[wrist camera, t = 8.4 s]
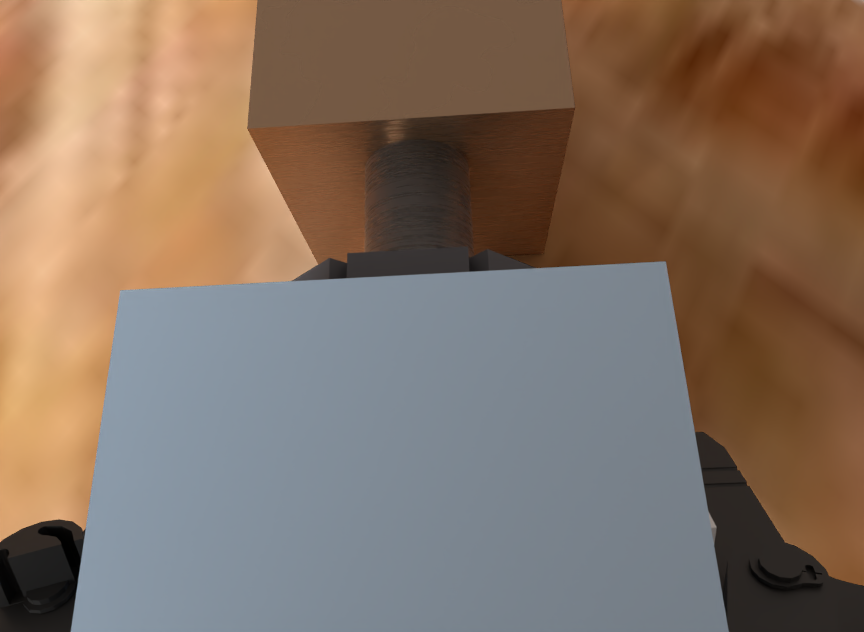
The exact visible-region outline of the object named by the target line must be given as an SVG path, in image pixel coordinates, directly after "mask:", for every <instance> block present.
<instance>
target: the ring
mask: <svg viewBox="0 0 864 632" xmlns="http://www.w3.org/2000/svg"><path fill="white" fill-rule="evenodd" d="M532 268H534V267H532V266H529V265H527V264H524V263H522V262H519V261H517V260H514V259H512V258H509V257H507V256H504V255H502V254H499V253H496V252H494V251H491V250H489V249H487V250H485V251H483V252H480V253H478V254H476V255H474V256H472V257H470V258H469V254H468V246H467V247H449V248H431V249H413V250H395V251H376V252H358V253H347V263H345V262H342V261H339V260H336V259H332V258H328V259H327V260H325V261H323V262H322V263H320V264H319V265H317V266H315V267H314V268H312V269H311V270H309V271H307V272H306V273H304V274H302V275H301V276H299V277H298V278H296V279H294V280H293V281H307V280H326V279H344V278H363V277H382V276H401V275H419V274H438V273H457V272H476V271H495V270H513V269H532Z"/></svg>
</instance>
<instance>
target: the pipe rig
mask: <svg viewBox="0 0 864 632" xmlns="http://www.w3.org/2000/svg"><path fill="white" fill-rule="evenodd" d="M574 110H575V104H574V96H573V88H572V80H571V72H570V65H569V57H568V49H567V41H566V34H565V26H564V18H563V10H562V3H561V0H258V2H257V15H256V27H255V40H254V52H253V65H252V77H251V90H250V102H249V115H248V127H247V129H248V131H249V133H250V135H251V137H252V138H253V140H254V142H255V144H256V146H257V148H258V150H259V152H260V154H261V156H262V158H263V159H264V161H265V163H266V165H267V167H268V169H269V171H270V173H271V175H272V177H273V179H274V180H275V182H276V184H277V186H278V188H279V190H280V192H281V194H282V196H283V198H284V200H285V201H286V203H287V205H288V207H289V209H290V211H291V213H292V215H293V217H294V219H295V221H296V222H297V224H298V226H299V228H300V230H301V232H302V234H303V236H304V238H305V240H306V242H307V243H308V245H309V247H310V249H311V251H312V253H313V255H314V257H315V259H316V261H317V263H318V264H320V263H322V262H323V261H325V260H327V259H328V258H332V259H336V260H339V261H342V262H345V263H347V253H358V252H376V251H395V250H413V249H431V248H449V247H467V246H468V254H469V258H470V257H472V256H474V255H476V254H478V253H480V252H483V251H485V250H487V249H489V250H491V251H494V252H496V253H499V254H502V255H521V254H539V253H543V252H544V248H545V243H546V239H547V234H548V229H549V225H550V220H551V216H552V211H553V207H554V202H555V197H556V193H557V188H558V184H559V179H560V174H561V170H562V165H563V161H564V156H565V151H566V147H567V142H568V138H569V133H570V128H571V124H572V119H573V115H574Z"/></svg>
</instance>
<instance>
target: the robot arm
mask: <svg viewBox="0 0 864 632" xmlns="http://www.w3.org/2000/svg"><path fill="white" fill-rule="evenodd" d="M695 436H696V442H697V448H698V454H699V460H700V466H701V472H702V477H703V483H704V489H705V495H706V501H707V507H708V513H709V519H710V524H711V530H712V536H713V542H714V548H715V554H716V560H717V566H718V571H719V577H720V583H721V589H722V595H723V601H724V607H725V613H726V618H727V624H728V630H729V632H864V586H862V585H857V584H852V583H848V582H845V581H841V580H838V579H835V578H832V577H830V576H829V575H828V573H827V571H826V569H825V568H824V567H823V566H822V565H821V564H820V563H819V562H818V561H817V560H816V559H815V558H814V557H813V556H812V555H810V554H808V553H806V552H805V551H803V550H801V549H800V548H798V547H796V546H794V545H791V544H788V543H785V542H784V540H783V539H782V537H781V536H780V534H779V532H778V531H777V529H776V528H775V526H774V525H773V523H772V521H771V520H770V518H769V517H768V515H767V514H766V512H765V510H764V509H763V507H762V506H761V504H760V503H759V501H758V499H757V498H756V496H755V495H754V493H753V491H752V490H751V488H750V487H749V486H747V482H746V480H745V479H744V477H743V476H742V474H741V473H740V471H739V470H737V466H736V465H735V463H734V462H733V460H732V458H731V457H730V455H729V454H728V452H727V451H726V449H725V448H724V447H723V446H722V445H720V444H719V443H718V442H716V441H715V440H713V439H712V438H711V437H709V436H708V435H707V434H705V433H704V432H695ZM85 530H86V529H85ZM85 530H84V531H82V528H81V527H79V526H78V525H77V524H75V523H74V522H72V521H65V520H52V521H45V522H40V523H37V524H34V525H32V526H29V527H26V528H23V529H21V530H19V531H17V532H16V533H14V534H12V535H10V536H9V537H7V538H5V539H4V540H2V541H1V542H0V632H71V627H72V620H73V613H74V606H75V599H76V592H77V585H78V578H79V572H80V565H81V558H82V551H83V544H84V537H85Z"/></svg>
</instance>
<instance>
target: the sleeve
mask: <svg viewBox="0 0 864 632" xmlns="http://www.w3.org/2000/svg"><path fill="white" fill-rule="evenodd" d="M71 632H729V630H728V624H727V618H726V613H725V607H724V601H723V595H722V589H721V583H720V577H719V571H718V566H717V560H716V554H715V548H714V542H713V536H712V530H711V524H710V519H709V513H708V507H707V501H706V495H705V489H704V483H703V477H702V472H701V466H700V460H699V454H698V448H697V442H696V436H695V430H694V425H693V419H692V413H691V407H690V401H689V395H688V389H687V383H686V378H685V372H684V366H683V360H682V354H681V348H680V342H679V336H678V330H677V325H676V319H675V313H674V307H673V301H672V295H671V289H670V283H669V278H668V272H667V266H666V261H664V262H645V263H626V264H607V265H588V266H570V267H551V268H532V269H513V270H495V271H476V272H457V273H438V274H419V275H401V276H382V277H363V278H344V279H326V280H307V281H288V282H269V283H250V284H232V285H213V286H194V287H175V288H157V289H138V290H120V297H119V304H118V311H117V318H116V324H115V331H114V338H113V345H112V352H111V359H110V366H109V372H108V379H107V386H106V393H105V400H104V407H103V414H102V421H101V427H100V434H99V441H98V448H97V455H96V462H95V469H94V475H93V482H92V489H91V496H90V503H89V510H88V517H87V524H86V530H85V537H84V544H83V551H82V558H81V565H80V572H79V578H78V585H77V592H76V599H75V606H74V613H73V620H72V627H71Z"/></svg>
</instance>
